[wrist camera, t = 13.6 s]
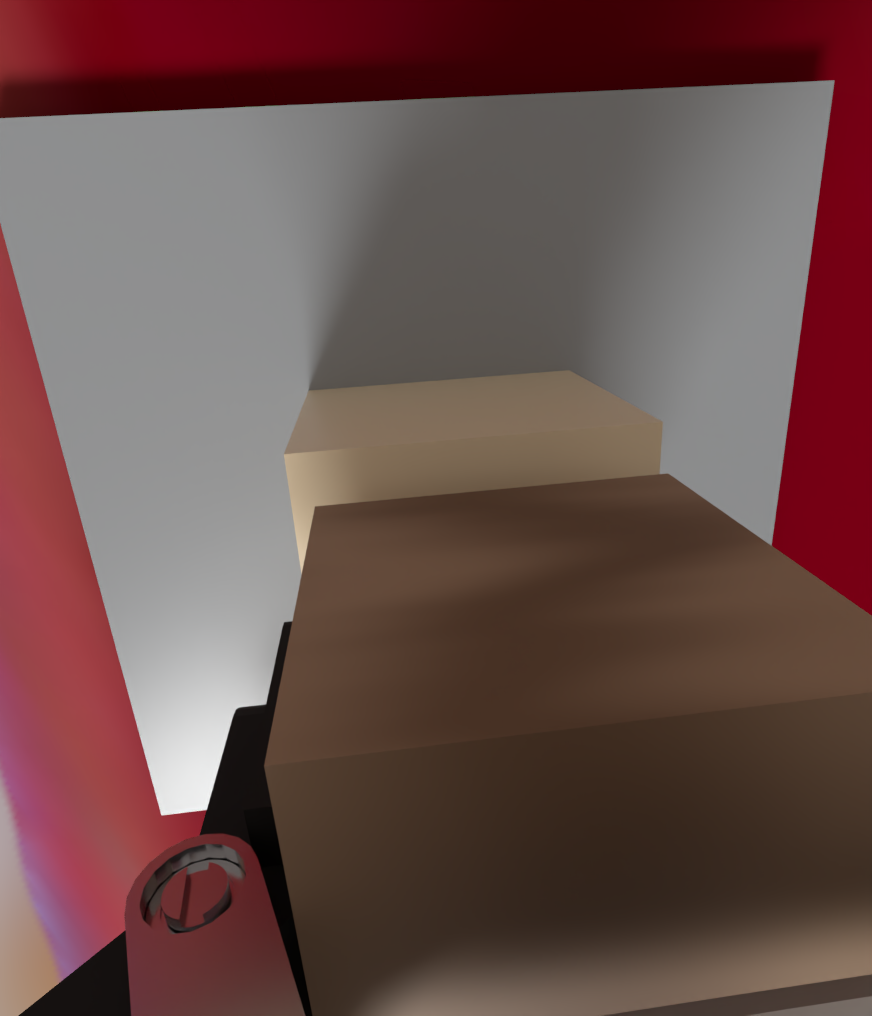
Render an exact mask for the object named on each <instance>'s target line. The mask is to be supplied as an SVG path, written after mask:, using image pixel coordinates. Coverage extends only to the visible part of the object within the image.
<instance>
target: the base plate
mask: <svg viewBox="0 0 872 1016" xmlns="http://www.w3.org/2000/svg"><path fill="white" fill-rule="evenodd" d="M833 88H834V80H832V81H810V82H788V83H766V84H744V85H722V86H700V87H678V88H656V89H634V90H612V91H590V92H568V93H546V94H524V95H502V96H480V97H458V98H436V99H414V100H392V101H370V102H348V103H326V104H304V105H282V106H260V107H238V108H216V109H194V110H172V111H150V112H128V113H105V114H83V115H61V116H39V117H17V118H0V223H1V227H2V231H3V234H4V238H5V242H6V245H7V249H8V253H9V256H10V260H11V264H12V267H13V271H14V275H15V278H16V282H17V286H18V289H19V293H20V297H21V300H22V304H23V308H24V311H25V315H26V319H27V322H28V326H29V330H30V334H31V337H32V341H33V345H34V348H35V352H36V356H37V359H38V363H39V367H40V370H41V374H42V378H43V381H44V385H45V389H46V392H47V396H48V400H49V403H50V407H51V411H52V414H53V418H54V422H55V425H56V429H57V433H58V436H59V440H60V444H61V447H62V451H63V455H64V458H65V462H66V466H67V469H68V473H69V477H70V481H71V484H72V488H73V492H74V495H75V499H76V503H77V506H78V510H79V514H80V517H81V521H82V525H83V528H84V532H85V536H86V539H87V543H88V547H89V550H90V554H91V558H92V561H93V565H94V569H95V572H96V576H97V580H98V583H99V587H100V591H101V594H102V598H103V602H104V605H105V609H106V613H107V616H108V620H109V624H110V627H111V631H112V635H113V639H114V642H115V646H116V650H117V653H118V657H119V661H120V664H121V668H122V672H123V675H124V679H125V683H126V686H127V690H128V694H129V697H130V701H131V705H132V708H133V712H134V716H135V719H136V723H137V727H138V730H139V734H140V738H141V741H142V745H143V749H144V752H145V756H146V760H147V763H148V767H149V771H150V774H151V778H152V782H153V785H154V789H155V793H156V797H157V800H158V804H159V808H160V811H161V815H169V814H177V813H185V812H193V811H201V810H207V808H208V804H209V800H210V797H211V793H212V790H213V786H214V783H215V779H216V775H217V772H218V768H219V765H220V761H221V758H222V754H223V750H224V747H225V743H226V740H227V736H228V733H229V729H230V725H231V722H232V718H233V715H234V713H235V710H236V709H237V708H239V707H248V706H257V705H265V704H266V702H267V698H268V693H269V688H270V684H271V679H272V674H273V669H274V665H275V660H276V655H277V651H278V646H279V641H280V637H281V632H282V627H283V624H284V622H289V621H293V616H294V611H295V606H296V600H297V595H298V590H299V585H300V580H301V575H302V570H303V565H304V560H305V555H306V549H307V544H308V539H309V534H310V529H311V524H312V519H313V514H314V509H315V506H325V505H336V504H346V503H357V502H368V501H379V500H389V499H400V498H411V497H421V496H432V495H443V494H453V493H464V492H475V491H486V490H496V489H507V488H518V487H528V486H539V485H550V484H560V483H571V482H582V481H593V480H603V479H614V478H625V477H635V476H646V475H657V474H667V473H668V474H670V475H671V476H673V477H674V478H675V479H677V480H678V481H680V482H681V483H683V484H684V485H685V486H687V487H688V488H690V489H691V490H693V491H694V492H695V493H697V494H698V495H700V496H701V497H703V498H704V499H705V500H707V501H708V502H710V503H711V504H713V505H714V506H715V507H717V508H718V509H720V510H721V511H723V512H724V513H725V514H727V515H728V516H730V517H731V518H733V519H734V520H735V521H737V522H738V523H740V524H741V525H743V526H744V527H745V528H747V529H748V530H750V531H751V532H753V533H754V534H755V535H757V536H758V537H760V538H761V539H762V540H764V541H765V542H767V543H768V544H770V545H772V538H773V530H774V523H775V516H776V508H777V501H778V493H779V486H780V479H781V471H782V464H783V456H784V449H785V442H786V434H787V427H788V420H789V412H790V405H791V397H792V390H793V383H794V375H795V368H796V361H797V353H798V346H799V338H800V331H801V324H802V316H803V309H804V302H805V294H806V287H807V279H808V272H809V265H810V257H811V250H812V243H813V235H814V228H815V220H816V213H817V206H818V198H819V191H820V183H821V176H822V169H823V161H824V154H825V147H826V139H827V132H828V124H829V117H830V110H831V102H832V95H833Z"/></svg>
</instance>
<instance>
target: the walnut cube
mask: <svg viewBox="0 0 872 1016" xmlns="http://www.w3.org/2000/svg"><path fill="white" fill-rule="evenodd" d="M264 768H265V773H266V778H267V784H268V789H269V794H270V799H271V804H272V809H273V815H274V820H275V825H276V830H277V835H278V840H279V845H280V851H281V856H282V861H283V866H284V871H285V876H286V881H287V887H288V892H289V897H290V902H291V907H292V912H293V918H294V923H295V928H296V933H297V938H298V943H299V948H300V954H301V959H302V964H303V969H304V974H305V979H306V985H307V990H308V995H309V1000H310V1005H311V1010H312V1015H313V1016H603V1015H609V1014H616V1013H622V1012H629V1011H635V1010H642V1009H648V1008H655V1007H661V1006H668V1005H674V1004H680V1003H687V1002H693V1001H700V1000H706V999H713V998H719V997H726V996H732V995H739V994H745V993H752V992H758V991H765V990H772V989H778V988H785V987H791V986H798V985H804V984H811V983H817V982H824V981H831V980H837V979H844V978H850V977H857V976H864V975H870V974H872V616H871V615H870V614H868V613H867V612H865V611H864V610H862V609H861V608H860V607H858V606H857V605H855V604H854V603H852V602H851V601H850V600H848V599H847V598H845V597H844V596H842V595H841V594H840V593H838V592H837V591H835V590H834V589H832V588H831V587H830V586H828V585H827V584H825V583H824V582H822V581H821V580H820V579H818V578H817V577H815V576H814V575H812V574H811V573H810V572H808V571H807V570H805V569H804V568H802V567H801V566H800V565H798V564H797V563H795V562H794V561H792V560H791V559H790V558H788V557H787V556H785V555H784V554H782V553H781V552H780V551H778V550H777V549H775V548H774V547H772V546H771V545H770V544H768V543H767V542H765V541H764V540H762V539H761V538H760V537H758V536H757V535H755V534H754V533H753V532H751V531H750V530H748V529H747V528H745V527H744V526H743V525H741V524H740V523H738V522H737V521H735V520H734V519H733V518H731V517H730V516H728V515H727V514H725V513H724V512H723V511H721V510H720V509H718V508H717V507H715V506H714V505H713V504H711V503H710V502H708V501H707V500H705V499H704V498H703V497H701V496H700V495H698V494H697V493H695V492H694V491H693V490H691V489H690V488H688V487H687V486H685V485H684V484H683V483H681V482H680V481H678V480H677V479H675V478H674V477H673V476H671V475H670V474H668V473H667V474H657V475H646V476H635V477H625V478H614V479H603V480H593V481H582V482H571V483H560V484H550V485H539V486H528V487H518V488H507V489H496V490H486V491H475V492H464V493H453V494H443V495H432V496H421V497H411V498H400V499H389V500H379V501H368V502H357V503H346V504H336V505H325V506H315V509H314V514H313V519H312V524H311V529H310V534H309V539H308V544H307V549H306V555H305V560H304V565H303V570H302V575H301V580H300V585H299V590H298V595H297V600H296V606H295V611H294V616H293V621H292V626H291V631H290V636H289V641H288V646H287V652H286V657H285V662H284V667H283V672H282V677H281V682H280V687H279V692H278V697H277V703H276V708H275V713H274V718H273V723H272V728H271V733H270V738H269V743H268V748H267V754H266V759H265V764H264Z"/></svg>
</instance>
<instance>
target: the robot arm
mask: <svg viewBox="0 0 872 1016" xmlns="http://www.w3.org/2000/svg"><path fill="white" fill-rule="evenodd" d="M291 626H292V621H289V622H284V624H283V627H282V632H281V637H280V641H279V646H278V651H277V655H276V660H275V665H274V669H273V674H272V679H271V684H270V688H269V693H268V698H267V702H266V704H265V705H257V706H248V707H239V708H237V709H236V710H235V713H234V715H233V718H232V722H231V725H230V729H229V733H228V736H227V740H226V743H225V747H224V750H223V754H222V758H221V761H220V765H219V768H218V772H217V775H216V779H215V783H214V786H213V790H212V793H211V797H210V800H209V804H208V808H207V811H206V815H205V818H204V822H203V825H202V829H201V833H200V836H197V837H193V838H189V839H186V840H184V841H182V842H180V843H178V844H176V845H174V846H172V847H170V848H168V849H166V850H165V851H164V852H162V853H161V854H160V855H159V856H157V857H156V858H155V859H154V860H152V861H151V862H150V863H149V864H148V865H147V866H146V867H145V869H144V870H143V871H142V872H141V873H140V875H139V876H138V877H137V878H136V879H135V881H134V884H133V886H132V888H131V890H130V892H129V894H128V896H127V900H126V908H125V931H124V932H123V933H122V934H120V935H119V936H118V937H117V938H115V939H114V940H113V941H112V942H110V943H109V944H108V945H107V946H105V947H104V948H103V949H101V950H100V951H99V952H98V953H96V954H95V955H94V956H93V957H91V958H90V959H89V960H88V961H86V962H85V963H84V964H83V965H81V966H80V967H79V968H78V969H76V970H75V971H74V972H73V973H71V974H70V975H69V976H68V977H66V978H65V979H64V980H63V981H61V982H60V983H59V984H58V985H56V986H55V987H54V988H53V989H51V990H50V991H49V992H48V993H46V994H45V995H44V996H43V997H42V998H40V999H39V1000H38V1001H36V1002H35V1003H34V1004H33V1005H31V1006H30V1007H29V1008H28V1009H26V1010H25V1011H24V1012H23V1013H21V1014H20V1015H19V1016H313V1015H312V1010H311V1005H310V1000H309V995H308V990H307V985H306V979H305V974H304V969H303V964H302V959H301V954H300V948H299V943H298V938H297V933H296V928H295V923H294V918H293V912H292V907H291V902H290V897H289V892H288V887H287V881H286V876H285V871H284V866H283V861H282V856H281V851H280V845H279V840H278V835H277V830H276V825H275V820H274V815H273V809H272V804H271V799H270V794H269V789H268V784H267V778H266V773H265V768H264V764H265V759H266V754H267V748H268V743H269V738H270V733H271V728H272V723H273V718H274V713H275V708H276V703H277V697H278V692H279V687H280V682H281V677H282V672H283V667H284V662H285V657H286V652H287V646H288V641H289V636H290V631H291ZM603 1016H872V974H870V975H864V976H857V977H850V978H844V979H837V980H831V981H824V982H817V983H811V984H804V985H798V986H791V987H785V988H778V989H772V990H765V991H758V992H752V993H745V994H739V995H732V996H726V997H719V998H713V999H706V1000H700V1001H693V1002H687V1003H680V1004H674V1005H668V1006H661V1007H655V1008H648V1009H642V1010H635V1011H629V1012H622V1013H616V1014H609V1015H603Z"/></svg>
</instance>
